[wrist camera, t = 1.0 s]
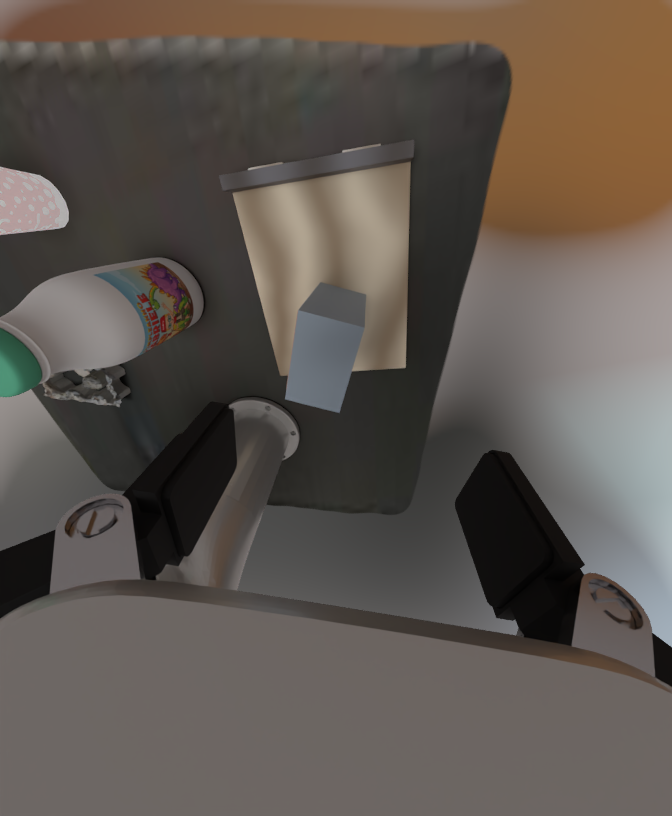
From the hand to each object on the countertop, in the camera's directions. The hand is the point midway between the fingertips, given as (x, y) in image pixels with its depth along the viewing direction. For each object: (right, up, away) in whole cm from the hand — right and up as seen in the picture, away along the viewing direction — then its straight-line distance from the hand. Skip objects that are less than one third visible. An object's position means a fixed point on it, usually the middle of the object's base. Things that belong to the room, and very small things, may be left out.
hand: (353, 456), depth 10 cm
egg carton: (-37, +7, +30) cm, 48 cm away
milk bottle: (-20, +16, +22) cm, 34 cm away
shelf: (-1, +15, +20) cm, 25 cm away
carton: (-1, +11, +21) cm, 24 cm away
